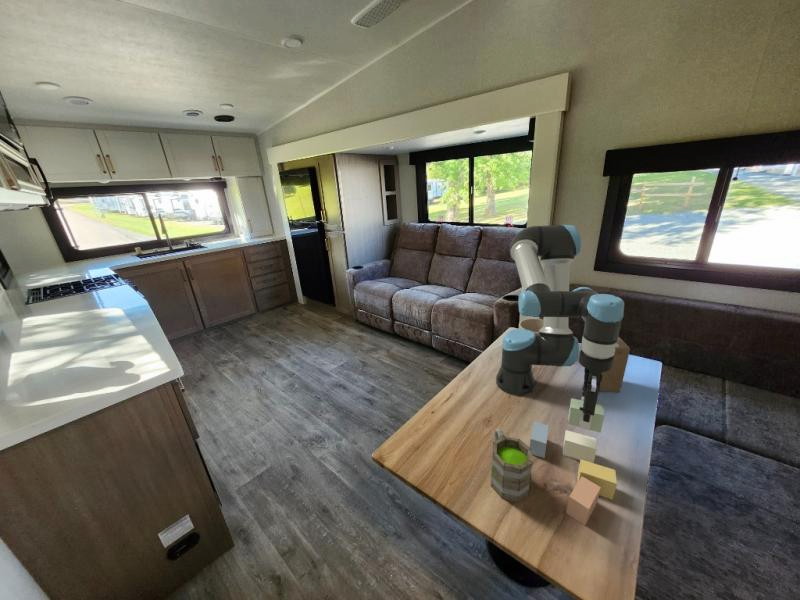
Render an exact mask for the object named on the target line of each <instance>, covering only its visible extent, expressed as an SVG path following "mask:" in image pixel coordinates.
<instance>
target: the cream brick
mask: <svg viewBox="0 0 800 600" xmlns="http://www.w3.org/2000/svg"><path fill="white" fill-rule="evenodd" d="M564 432H565V433H564V437H563V445H562V446H563V447H562V456H565V457H569V458H572V459H575V460H578V461H580V460H581V459H582V460H585V461H588V462H591V463H594V464H595V458H596V453H597V449H598V448H597V438H596V437H592V436H589V435H585V434H581V433H579V432H574V431H572V430H571V431H570V430H568V429H566V430H565V431H564Z"/></svg>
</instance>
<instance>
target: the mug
mask: <svg viewBox="0 0 800 600" xmlns="http://www.w3.org/2000/svg"><path fill="white" fill-rule="evenodd" d="M491 454H492V457H491V474H490V487H491V488H492V489H493V490H494V492H496V494H497V495H498V496H499V498H500V499H503V500H507V501H511V502H515V503H520V502H521V501H523V500H524V499H525V498H527V497H528V496H530V483H531V479H532V477H531V476H532V467H533V462H534V460H533V459H534V458H533V455H532V449H531V448H530V446H528V445H527V444H526V443H525V442H524V441H523V440H521V438H516V437H510V436H505V433H504V431H503V430H502V429H501V428H496V429H495V431H494V441H493V442H492V453H491Z"/></svg>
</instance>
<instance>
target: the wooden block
mask: <svg viewBox="0 0 800 600" xmlns="http://www.w3.org/2000/svg"><path fill="white" fill-rule="evenodd" d="M616 344H619V347H615V353H614V356H613V357H614V359H613V364H612V368H611V369H610V370H609V371H607V372H602V373H601V375H602V381H601V382H600V390H599V392H610V393H620V392H621V389H622V386H623V382H624V377H625V372H626V368H627V365H628V361H629V360H628V359H629V355H630V351H631V347H630V346H629V345H627V343H626V342H625V341H624V340H623V339H622V338H621V337H620V336H618V339H617V343H616Z"/></svg>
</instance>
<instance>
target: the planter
mask: <svg viewBox="0 0 800 600" xmlns="http://www.w3.org/2000/svg"><path fill="white" fill-rule="evenodd" d="M543 326H544V318H536V317H530V318H525V319H522V320H520V322H519V324H518V329H526V330H530V331H532V332H533V333H534V334H535V335H539V330H540V329H541V328H542V327H543Z"/></svg>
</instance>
